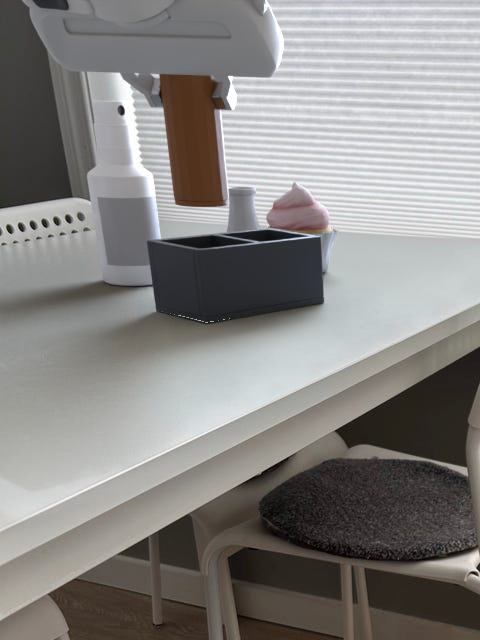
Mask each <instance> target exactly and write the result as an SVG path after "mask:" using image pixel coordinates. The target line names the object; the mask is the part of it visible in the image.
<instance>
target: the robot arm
mask: <svg viewBox="0 0 480 640" xmlns="http://www.w3.org/2000/svg"><path fill="white" fill-rule="evenodd" d="M21 1H22V2H23V4H25V5H26V6H27V7H28V8H29V17H30V21H31V23H32V24H33V27H34V28H35V31H36V32H37V35H38V37H39V38H40V40H41V42H42V43H43V45H44V47H45V48H46V50H47V51H48V53H49V55H50V56H51V57H52V59H53V60H54V61H55V62H56V63H57V64H58V65H60V66H61V67H63V68H64V69H66V70H68V71H69V72H83V73H86V72H87V73H114V74H117V73H118V74H119V75H120V77H121V78H122V80H123V81H125V82H126V83H127V84H129V85H130V86H131V87H132V88H134V89H135V90H136V91H138V92H139V93H141V95H143V96H144V97H145V99H146V102H147V103H148V105H149V107H150V108H155V109H156V108H160V109H163V102H162V94H161V85H160V78H159V77H158V78H157V77H154V75H159V74H171V75H201V76H214V79H215V84H214V88H215V89H214V90H213V92H212V96H211V97H212V99H213V101H214V103H215V104H216V108H217V109H218V110H221V111H232V112H233V111H235V107H236V103H237V99H238V97H237V93H236V91H235V88H234V86H233V83H232V82H233V78H234V77H235V78H238V77H239V78H259V79H260V78H263V79H264V78H265V79H266V78H267V79H268V78H272V77H274V76H275V74H276V71H277V70H278V69H279V66H280V64H281V60H282V55H283V52H284V51H283V50H284V37H283V34H282V31H281V28H280V26H279V24H278V22H277V20H276V17H275V15H274V12H273V11H272V9H271V6H270V5H269V2H268V1H267V0H21Z"/></svg>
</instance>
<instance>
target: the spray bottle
mask: <svg viewBox="0 0 480 640" xmlns="http://www.w3.org/2000/svg"><path fill="white" fill-rule="evenodd" d="M91 103H92V109H93V116H94V118H93V121H94V123H93V124H92V125H93V130H94V137H95V143H96V146H95V149H96V156H97V162H98V164H96V166H93V168H92V169H90V170H89V171H87V173H86V180H87V186H88V187H87V188H88V193H89V199H90V206H91V212H92V218H93V225H94V231H95V237H96V243H97V250H98V255H99V256H98V257H99V262H100V269H101V273H102V274H101V275H102V279H103V281H104V282H105V283H107V284H109V285H112V286H119V287H120V286H121V287H144V286H153V284H152V277H151V269H150V262H149V254H148V247H147V240H156V239H162V237H161V229H160V221H159V214H158V206H157V197H156V189H155V181H154V175H153V173H151V171H149V170H148V169H146V168H145V167H143V166H142V165H140V164H139V160H138V153H137V148H136V144H135V137H134V130H133V129H134V128H133V124H131V119H130V117H129V109H128V102H127V101H126V100H118V99H117V100H114V99H110V100H104V99H103V100H102V99H101V100H100V99H92V101H91Z"/></svg>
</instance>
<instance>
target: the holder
mask: <svg viewBox="0 0 480 640" xmlns="http://www.w3.org/2000/svg"><path fill="white" fill-rule="evenodd" d="M147 247H148V254H149V262H150V269H151V277H152V284H153V285H152V290H153V298H154V304H155V311H156V312H160V313H163V314H167V315H171V316H174V317H179V318H183V319H186V320H190V321H193V322H198V323H202V324H206V325H207V324H214V323H219V322H224V321H230V320H235V319H241V318H246V317H251V316H257V315H263V314H268V313H269V314H270V313H275V312H279V311H287V310H290V309H296V308H301V307H302V308H303V307H307V306H312V305H313V306H314V305H318V304H324V303H325V297H324V296H325V294H324V275H323V273H324V272H323V270H322V250H321V237H320V236H315V235H309V234H303V233H297V232H291V231H284V230H278V229H272V228H266V227H264V229H263V228H260V229H255V230H245V231H235V232H227V231H226V232H218V233H207V234H196V235H186V236H178V237H166V238H161V239H156V240H147ZM158 310H159V311H158ZM162 311H163V312H162ZM166 312H167V313H166ZM170 313H171V314H170ZM174 314H175V315H174ZM178 315H181V316H178ZM182 316H185V317H182ZM186 317H189V318H186ZM190 318H193V319H197V320H201V321H204V322H201V321H197V320H193V319H190ZM229 318H230V319H229ZM223 319H225V320H223ZM218 320H219V321H218ZM210 321H214V322H210ZM205 322H208V323H205Z"/></svg>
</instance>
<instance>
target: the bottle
mask: <svg viewBox="0 0 480 640" xmlns="http://www.w3.org/2000/svg"><path fill="white" fill-rule="evenodd" d="M158 76H159V77H158V78H159V79H160V85H161V94H162V102H163V108H162V109H163V116H164V126H165V134H166V135H165V136H166V142H167V150H168V151H167V152H168V160H169V167H170V168H169V169H170V176H171V185H172V192H173V199H174V204H175V205H176V206H179V207H188V208H189V207H190V208H217V207H219V208H220V207H226V206H229V191H228V187H229V182H228V171H227V161H226V149H225V148H226V147H225V139H224V128H223V127H224V126H223V116H222V110H218V109H217V108H216V104H215V103H214V101H213V99H212V97H211V96H212V92H213V90H214V89H215V88H214V84H215V79H214V76H201V75H171V74H158Z"/></svg>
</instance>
